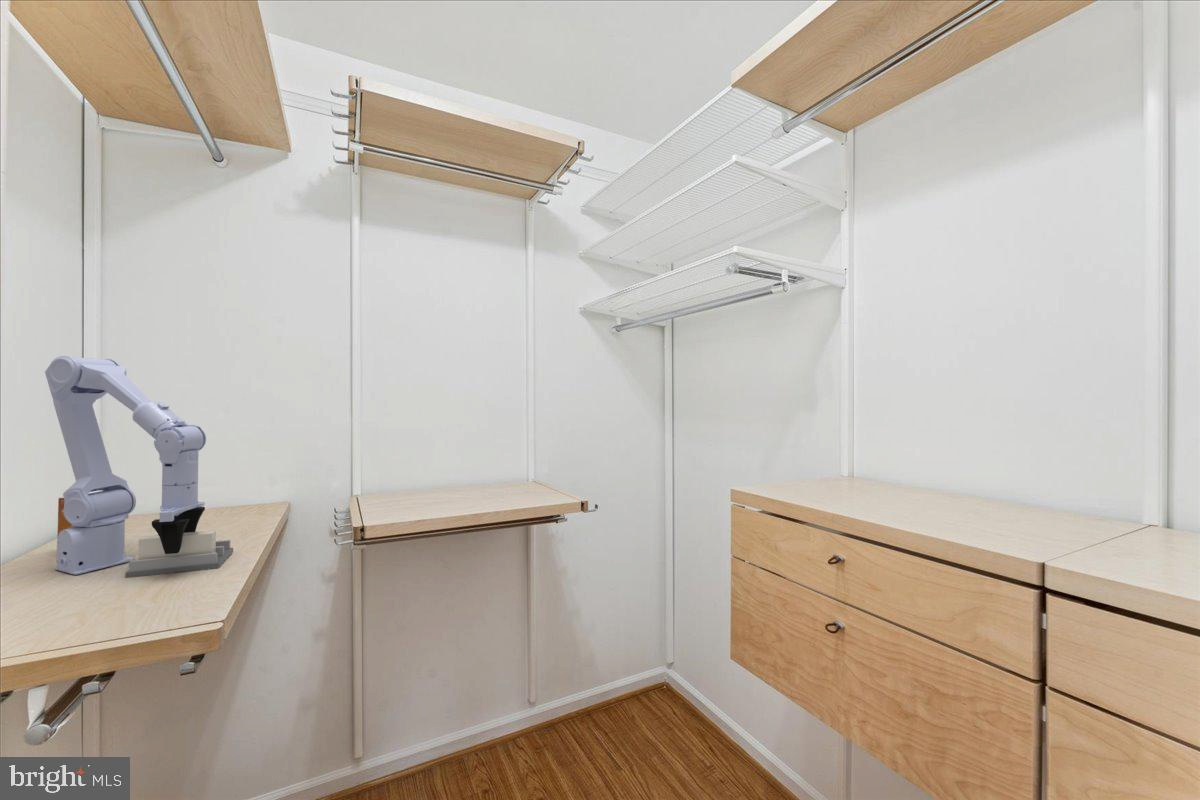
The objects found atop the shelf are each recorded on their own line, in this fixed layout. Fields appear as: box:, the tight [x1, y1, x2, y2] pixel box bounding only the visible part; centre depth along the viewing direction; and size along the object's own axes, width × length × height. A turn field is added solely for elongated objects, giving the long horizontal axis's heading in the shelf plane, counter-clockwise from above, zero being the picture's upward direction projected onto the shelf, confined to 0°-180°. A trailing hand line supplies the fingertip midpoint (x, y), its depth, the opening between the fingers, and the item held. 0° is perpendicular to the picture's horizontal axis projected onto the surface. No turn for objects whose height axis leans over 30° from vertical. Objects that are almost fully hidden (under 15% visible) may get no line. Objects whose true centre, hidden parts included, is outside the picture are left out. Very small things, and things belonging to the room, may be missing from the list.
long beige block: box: [137, 529, 217, 560], centre depth 101 cm, size 12×3×6 cm, turn 115°
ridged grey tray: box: [124, 539, 234, 579], centre depth 103 cm, size 15×11×3 cm
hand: (179, 547), depth 101 cm, fingers open, 7 cm apart
